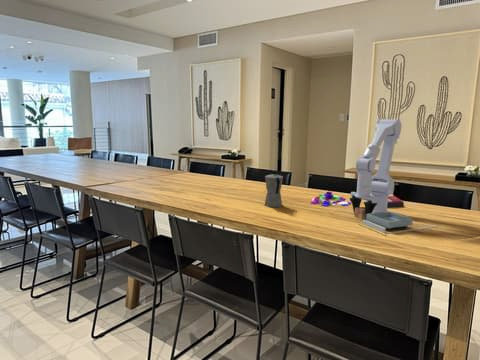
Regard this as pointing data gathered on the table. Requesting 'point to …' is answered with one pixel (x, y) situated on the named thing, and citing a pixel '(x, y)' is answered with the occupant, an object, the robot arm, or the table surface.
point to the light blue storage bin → (389, 219)
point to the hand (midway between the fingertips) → (362, 215)
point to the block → (360, 212)
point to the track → (383, 229)
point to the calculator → (394, 202)
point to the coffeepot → (273, 190)
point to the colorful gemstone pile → (329, 200)
